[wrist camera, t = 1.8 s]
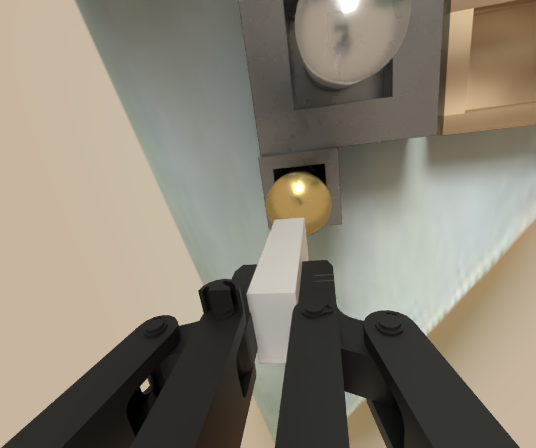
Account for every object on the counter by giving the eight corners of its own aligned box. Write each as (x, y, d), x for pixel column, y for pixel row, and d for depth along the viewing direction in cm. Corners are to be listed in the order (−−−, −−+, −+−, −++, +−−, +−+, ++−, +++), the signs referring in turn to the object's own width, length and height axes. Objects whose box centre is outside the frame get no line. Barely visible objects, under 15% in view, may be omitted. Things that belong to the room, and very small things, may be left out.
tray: (432, 4, 25) (452, -13, 21) (575, -24, 23) (625, -48, 19) (426, 131, 28) (442, 135, 25) (550, 116, 26) (588, 118, 23)
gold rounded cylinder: (274, 160, 26) (261, 178, 20) (326, 154, 25) (329, 170, 19) (281, 208, 28) (270, 238, 22) (329, 204, 27) (333, 234, 21)
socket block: (253, -9, 26) (228, -52, 19) (413, -45, 24) (456, -111, 16) (279, 201, 33) (268, 229, 26) (407, 190, 30) (436, 217, 23)
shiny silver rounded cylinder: (302, 28, 24) (288, -36, 13) (367, 15, 23) (412, -65, 12) (307, 95, 26) (300, 89, 15) (368, 86, 25) (409, 73, 14)
